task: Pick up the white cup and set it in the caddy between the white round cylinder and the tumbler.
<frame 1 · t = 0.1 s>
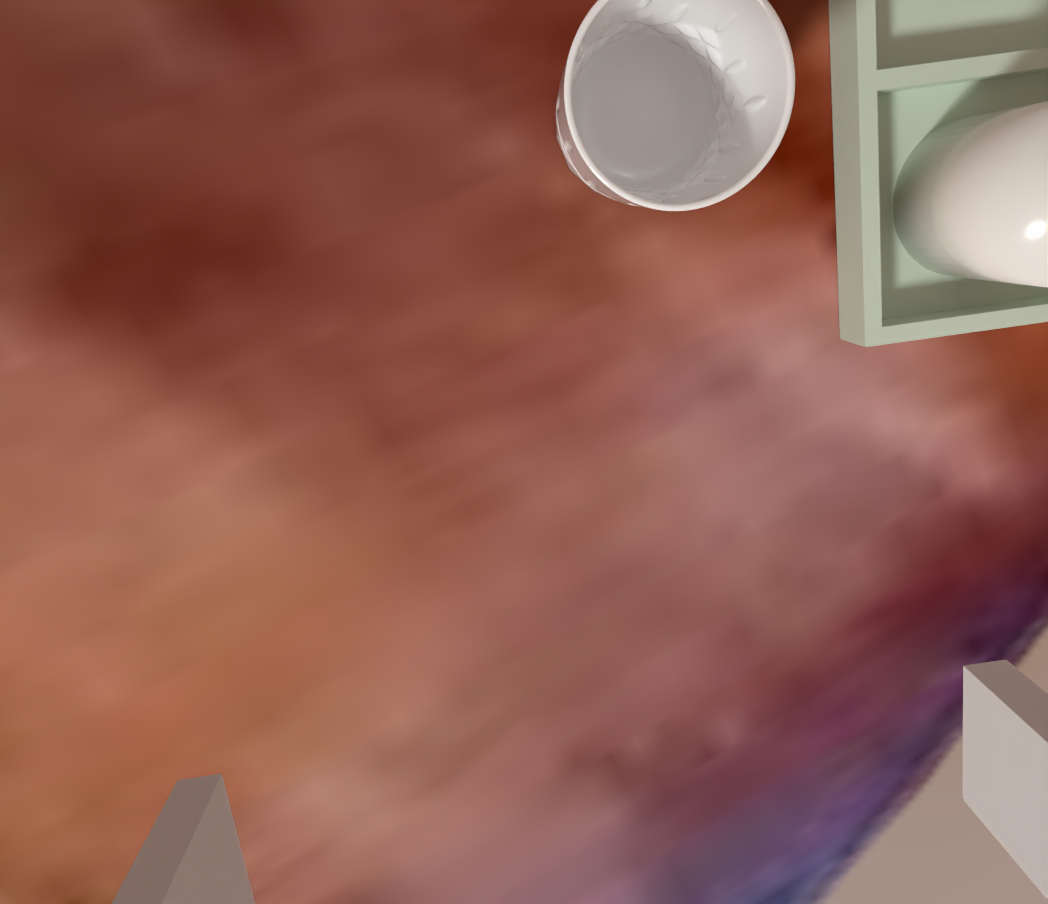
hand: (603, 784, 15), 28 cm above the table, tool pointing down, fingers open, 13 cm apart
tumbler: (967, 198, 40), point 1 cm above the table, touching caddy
white cup: (628, 122, 39), on the table
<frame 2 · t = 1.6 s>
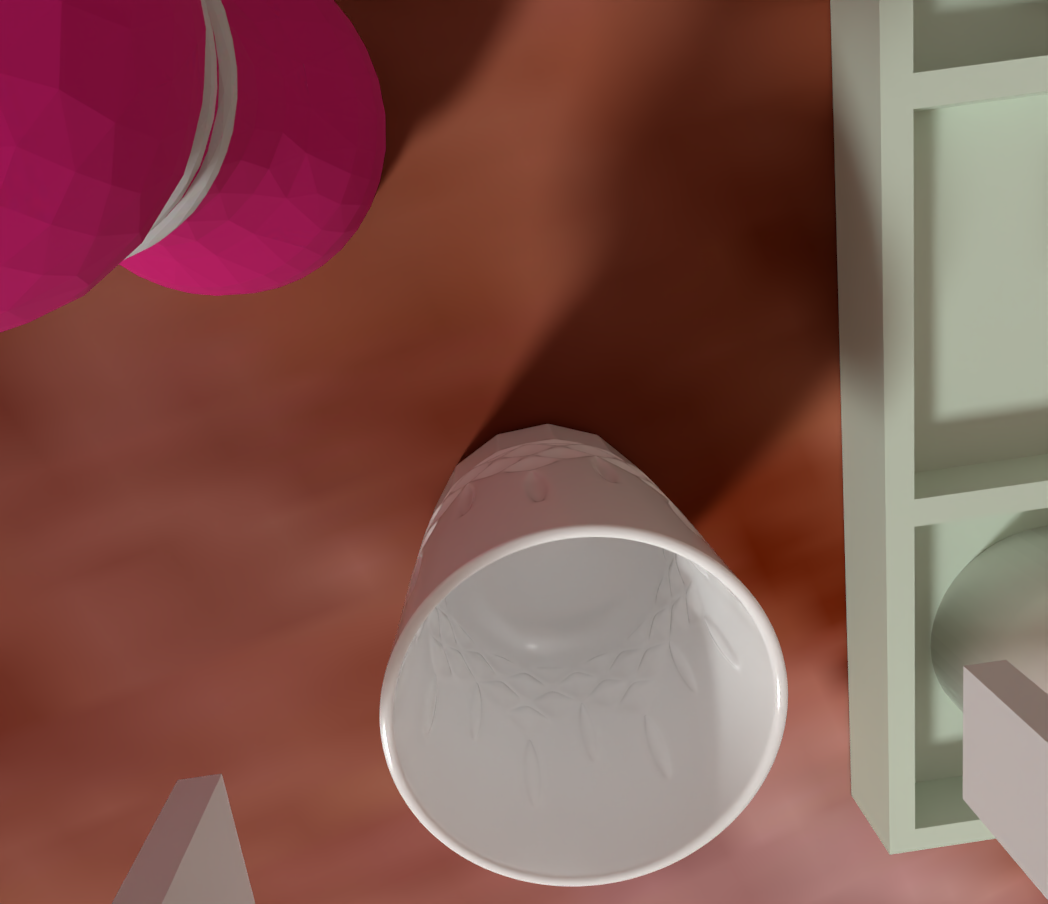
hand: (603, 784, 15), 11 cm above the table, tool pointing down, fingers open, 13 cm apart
pepper mill: (264, 140, 23), on the table
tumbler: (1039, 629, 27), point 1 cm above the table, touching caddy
caddy: (1036, 281, 25), on the table
white cup: (543, 528, 26), on the table
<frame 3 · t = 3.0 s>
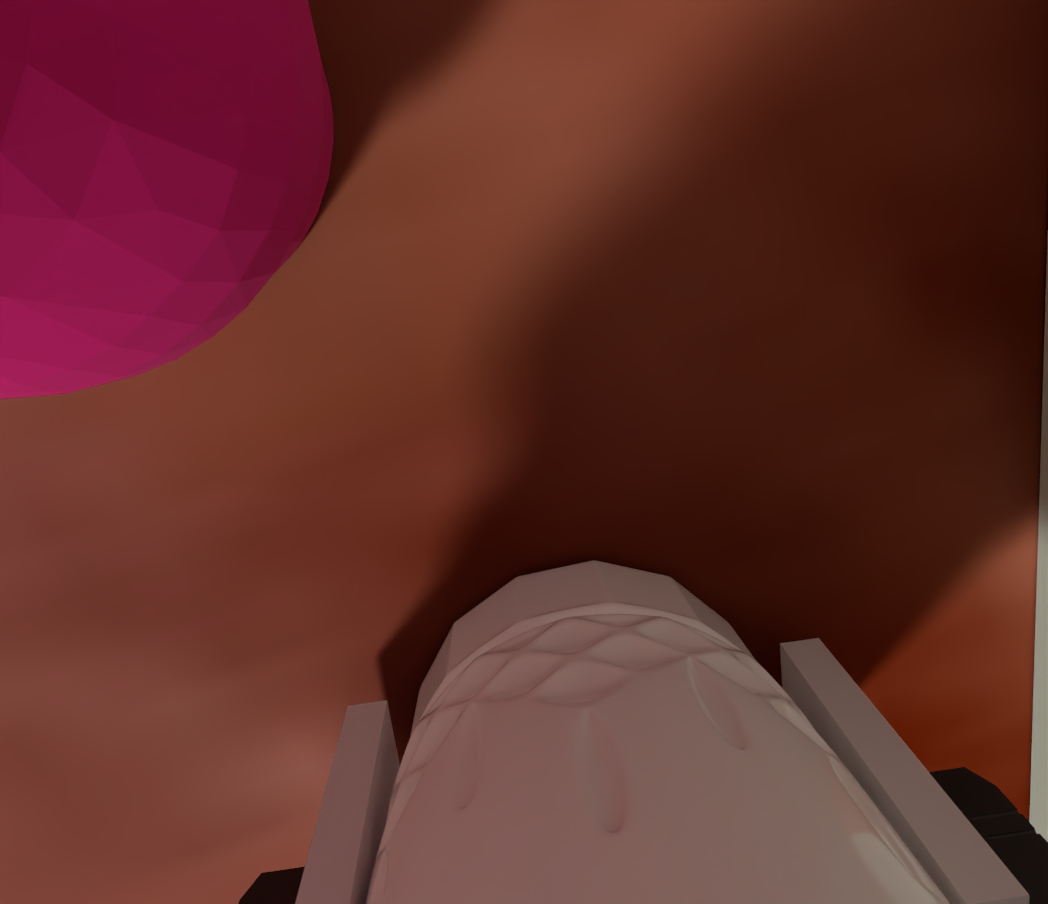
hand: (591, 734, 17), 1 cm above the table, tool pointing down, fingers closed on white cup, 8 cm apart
pepper mill: (146, 123, 14), on the table
white cup: (585, 708, 18), on the table, touching gripper
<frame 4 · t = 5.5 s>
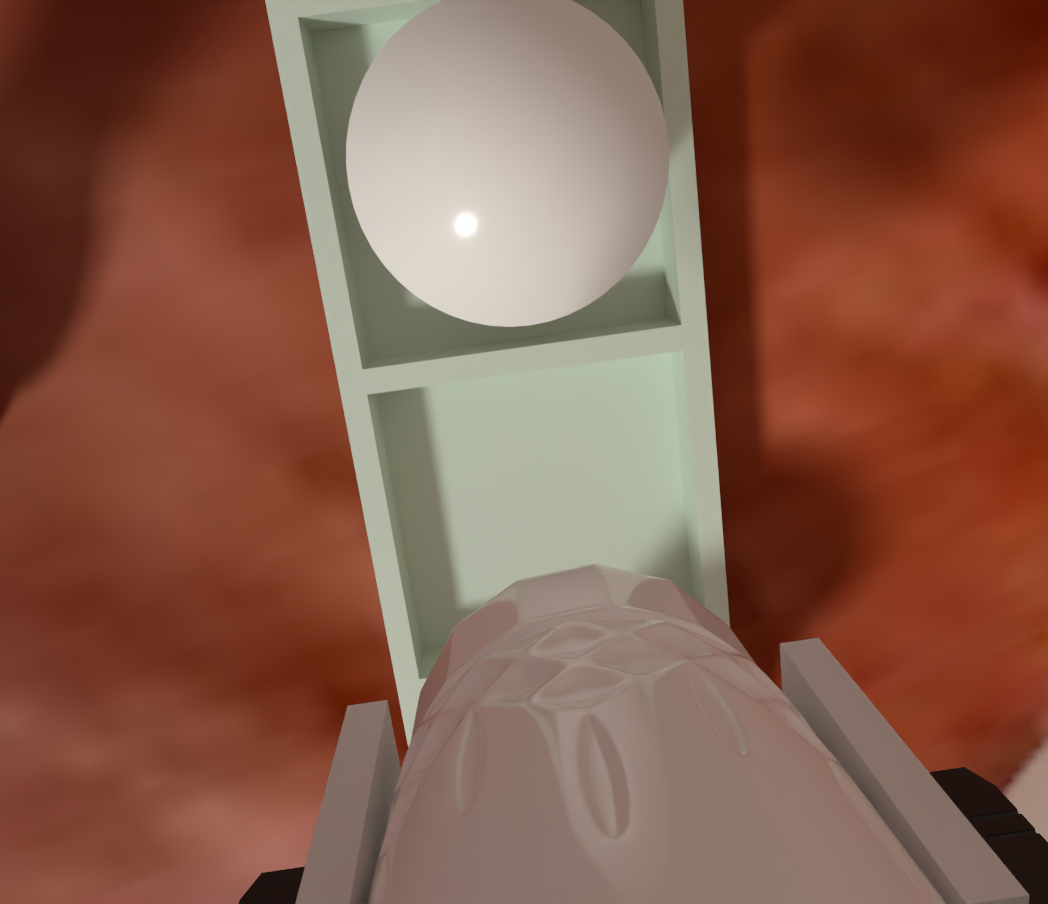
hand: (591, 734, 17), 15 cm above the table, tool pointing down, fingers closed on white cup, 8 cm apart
white round cylinder: (498, 182, 27), point 1 cm above the table, touching caddy
caddy: (539, 495, 31), on the table
white cup: (585, 711, 18), point 14 cm above the table, touching gripper
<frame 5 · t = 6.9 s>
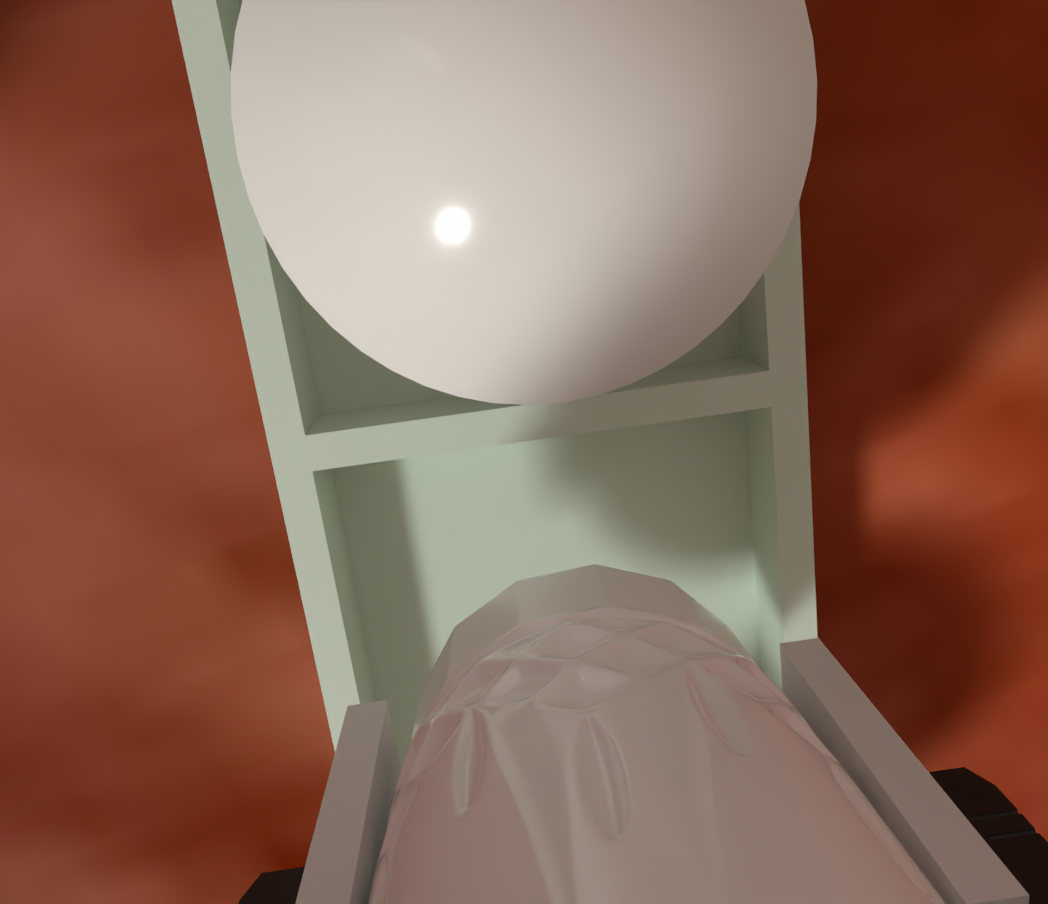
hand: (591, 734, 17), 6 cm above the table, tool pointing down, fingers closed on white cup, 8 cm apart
white round cylinder: (503, 163, 19), point 1 cm above the table, touching caddy
caddy: (558, 595, 23), on the table
white cup: (585, 712, 18), point 5 cm above the table, touching gripper
when the fingers open (4 cm above the table, at t = 7.8 s): white cup drops 2 cm, resting on caddy.
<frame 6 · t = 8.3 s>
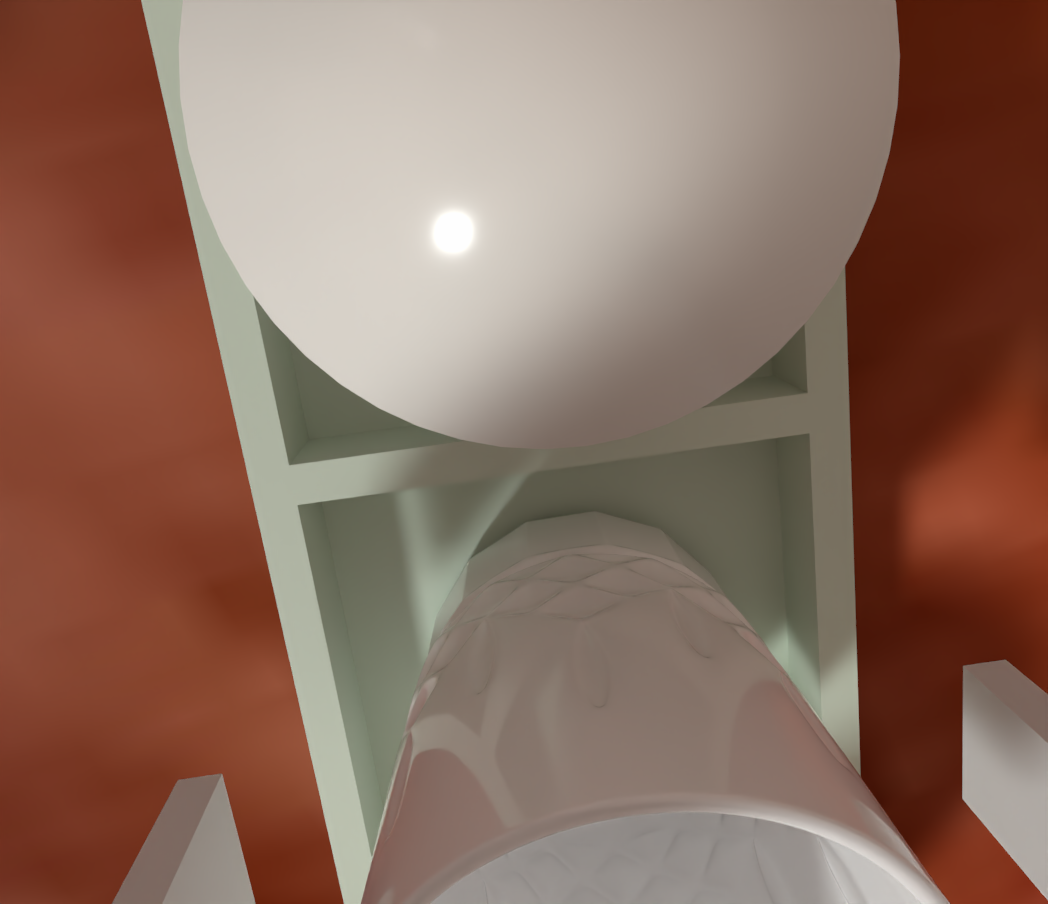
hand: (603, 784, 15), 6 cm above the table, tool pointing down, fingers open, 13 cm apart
white round cylinder: (510, 162, 17), point 1 cm above the table, touching caddy
caddy: (569, 634, 21), on the table
white cup: (580, 641, 20), point 1 cm above the table, touching caddy
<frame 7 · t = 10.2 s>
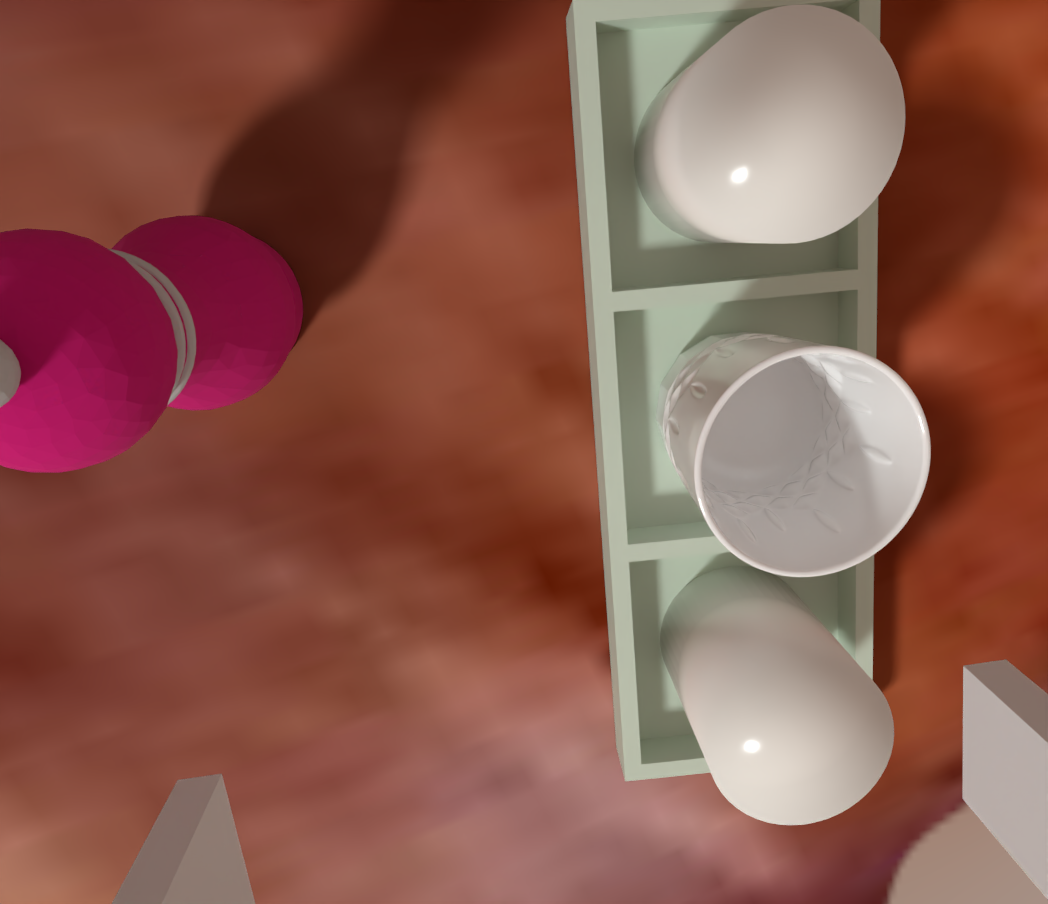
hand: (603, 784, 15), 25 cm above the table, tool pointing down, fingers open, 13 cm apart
pepper mill: (231, 305, 37), on the table
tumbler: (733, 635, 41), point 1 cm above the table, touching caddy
white round cylinder: (718, 155, 36), point 1 cm above the table, touching caddy
caddy: (721, 408, 39), on the table
white cup: (729, 406, 38), point 1 cm above the table, touching caddy
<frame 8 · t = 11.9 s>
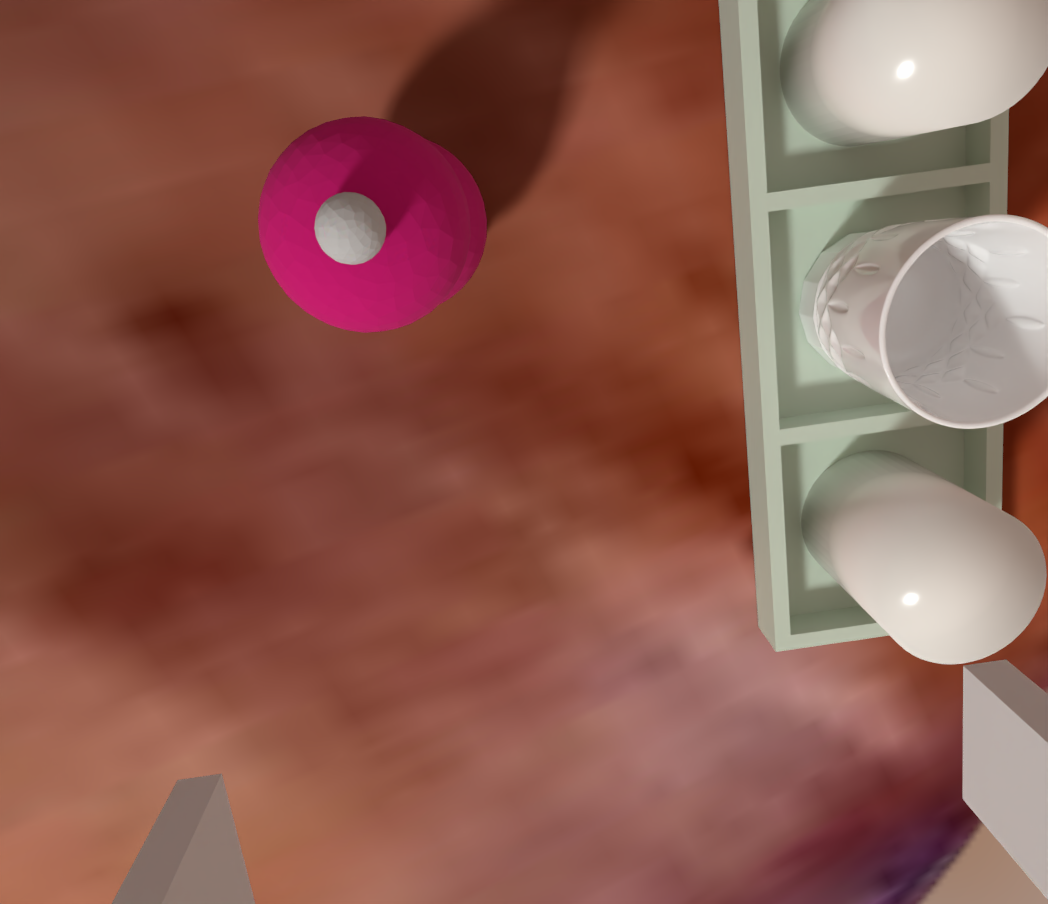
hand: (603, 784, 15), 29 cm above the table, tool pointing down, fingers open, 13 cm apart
pepper mill: (408, 225, 40), on the table
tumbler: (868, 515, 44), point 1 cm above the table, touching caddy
white round cylinder: (856, 64, 39), point 1 cm above the table, touching caddy
caddy: (855, 303, 42), on the table
white cup: (864, 301, 42), point 1 cm above the table, touching caddy
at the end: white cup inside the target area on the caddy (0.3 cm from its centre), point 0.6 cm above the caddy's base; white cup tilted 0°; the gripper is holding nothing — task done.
